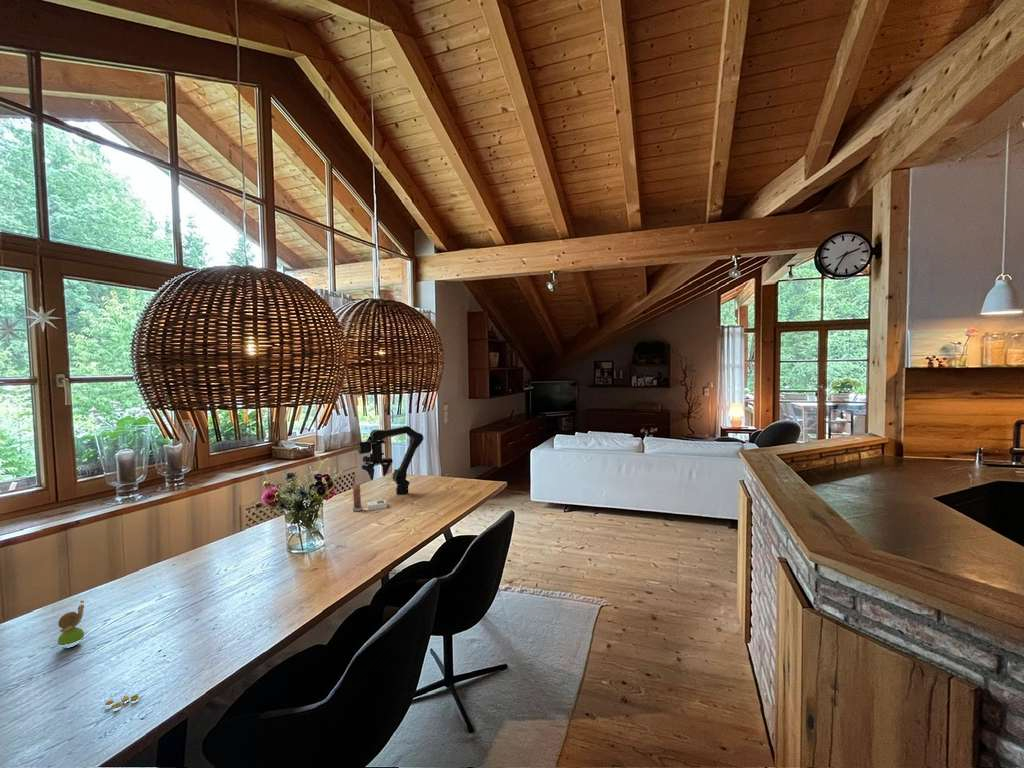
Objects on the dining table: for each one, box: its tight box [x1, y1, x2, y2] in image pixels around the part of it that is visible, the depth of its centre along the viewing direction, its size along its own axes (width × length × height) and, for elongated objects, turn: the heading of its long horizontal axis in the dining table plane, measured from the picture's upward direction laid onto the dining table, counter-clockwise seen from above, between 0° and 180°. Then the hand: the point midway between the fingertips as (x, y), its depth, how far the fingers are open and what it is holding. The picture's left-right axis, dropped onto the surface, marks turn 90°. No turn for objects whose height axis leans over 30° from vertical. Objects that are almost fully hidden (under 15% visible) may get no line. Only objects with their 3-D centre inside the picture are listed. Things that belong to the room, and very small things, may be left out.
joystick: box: [352, 484, 364, 513], centre depth 239 cm, size 5×5×14 cm
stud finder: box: [366, 499, 388, 511], centre depth 243 cm, size 10×6×3 cm, turn 113°
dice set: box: [104, 693, 139, 709], centre depth 107 cm, size 5×5×2 cm
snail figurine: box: [57, 600, 85, 646], centre depth 131 cm, size 5×6×12 cm
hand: (378, 478), depth 259 cm, fingers open, 9 cm apart
